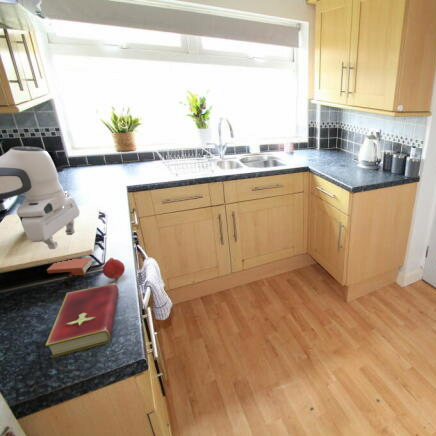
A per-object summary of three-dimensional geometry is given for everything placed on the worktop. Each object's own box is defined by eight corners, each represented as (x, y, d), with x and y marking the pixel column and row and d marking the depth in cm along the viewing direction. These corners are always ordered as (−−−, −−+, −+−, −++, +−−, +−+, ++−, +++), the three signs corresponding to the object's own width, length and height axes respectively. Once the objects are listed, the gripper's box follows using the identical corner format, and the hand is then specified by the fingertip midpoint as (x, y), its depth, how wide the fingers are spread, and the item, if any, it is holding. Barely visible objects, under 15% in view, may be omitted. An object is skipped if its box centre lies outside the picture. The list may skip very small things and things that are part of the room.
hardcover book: (119, 293, 96) (116, 282, 95) (111, 341, 79) (107, 328, 77) (71, 303, 91) (66, 292, 90) (51, 357, 74) (45, 344, 73)
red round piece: (102, 284, 100) (96, 263, 97) (110, 274, 105) (104, 253, 102) (123, 283, 101) (117, 261, 98) (129, 273, 106) (124, 252, 103)
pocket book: (49, 277, 102) (46, 269, 101) (60, 267, 108) (57, 259, 107) (84, 275, 104) (81, 267, 103) (93, 265, 110) (90, 257, 108)
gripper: (56, 189, 104) (70, 227, 110) (11, 214, 86) (30, 257, 92) (77, 188, 105) (90, 226, 111) (37, 212, 87) (55, 256, 93)
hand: (62, 240), depth 101 cm, fingers open, 8 cm apart
